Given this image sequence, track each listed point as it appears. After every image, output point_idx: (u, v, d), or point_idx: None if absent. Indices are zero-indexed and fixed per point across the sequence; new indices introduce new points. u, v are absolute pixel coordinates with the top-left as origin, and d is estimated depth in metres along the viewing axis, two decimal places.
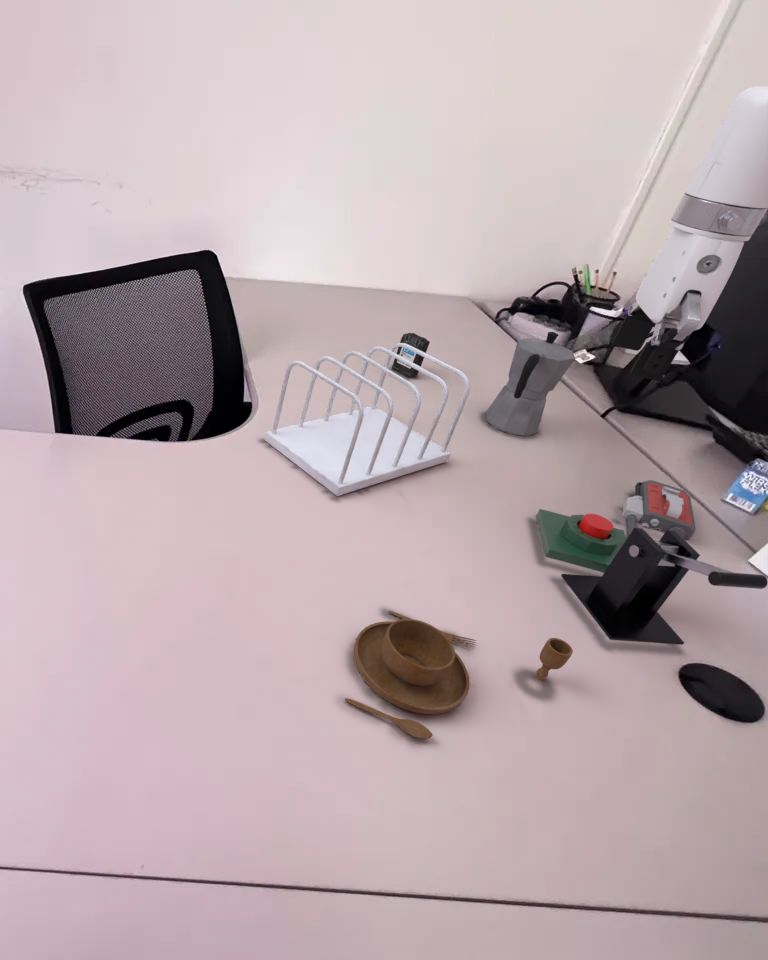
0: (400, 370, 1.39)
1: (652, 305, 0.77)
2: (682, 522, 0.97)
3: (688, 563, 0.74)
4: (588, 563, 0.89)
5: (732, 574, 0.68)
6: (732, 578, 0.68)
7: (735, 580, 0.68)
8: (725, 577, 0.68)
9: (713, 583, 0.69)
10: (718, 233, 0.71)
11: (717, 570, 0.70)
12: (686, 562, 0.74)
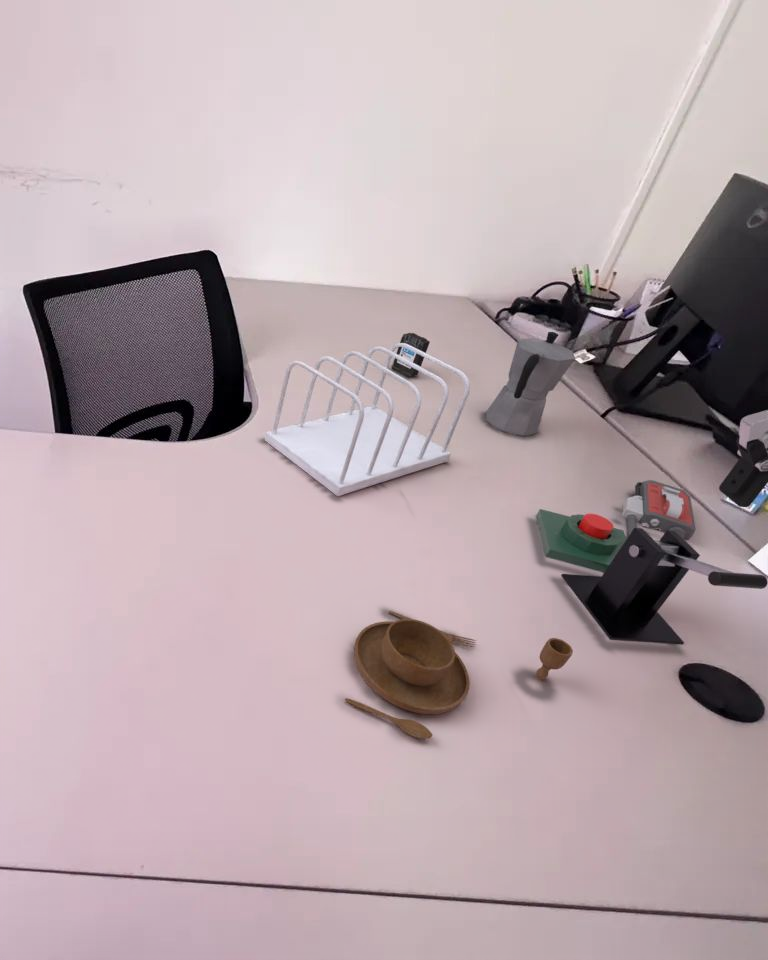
0: (400, 370, 1.39)
1: None
2: (682, 522, 0.97)
3: (688, 563, 0.74)
4: (588, 563, 0.89)
5: (732, 574, 0.68)
6: (732, 578, 0.68)
7: (735, 580, 0.68)
8: (725, 577, 0.68)
9: (713, 583, 0.69)
10: None
11: (717, 570, 0.70)
12: (686, 562, 0.74)
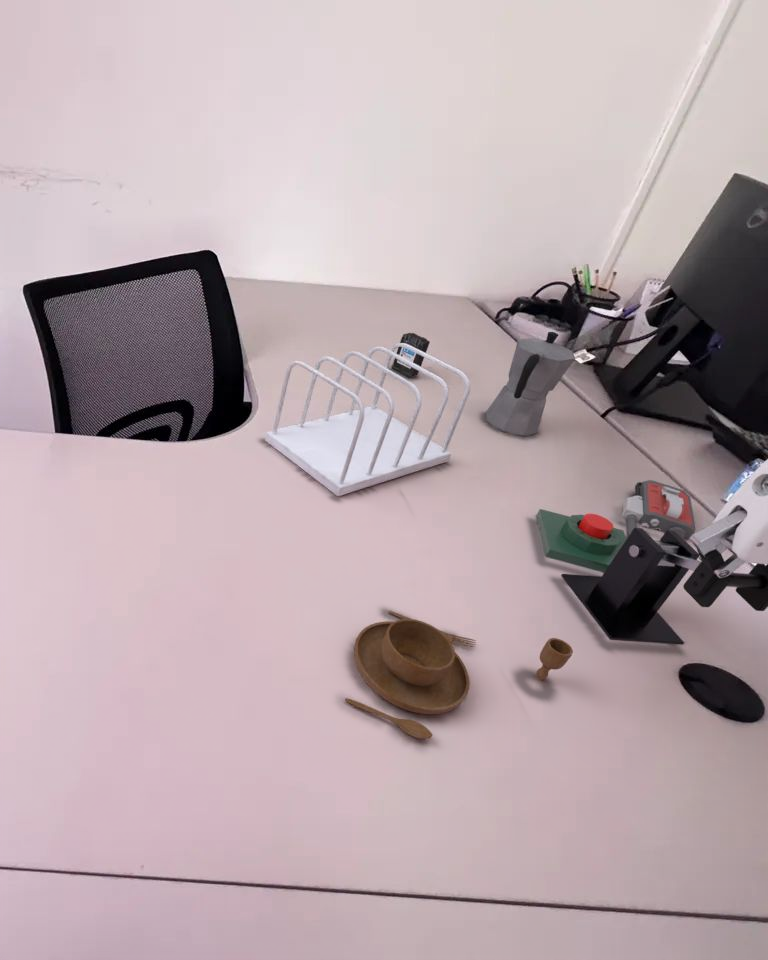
0: (400, 370, 1.39)
1: None
2: (682, 522, 0.97)
3: (688, 563, 0.74)
4: (588, 563, 0.89)
5: (732, 574, 0.68)
6: (732, 578, 0.68)
7: (735, 580, 0.68)
8: None
9: None
10: None
11: None
12: (686, 562, 0.74)
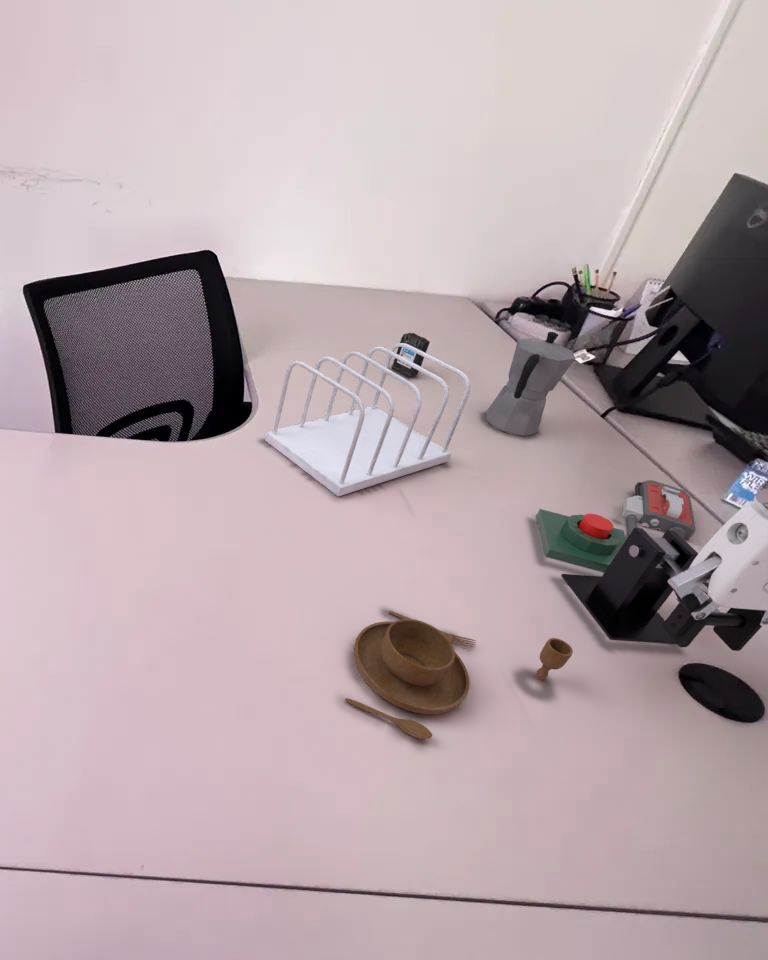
0: (400, 370, 1.39)
1: None
2: (682, 522, 0.97)
3: None
4: (588, 563, 0.89)
5: (713, 616, 0.70)
6: (711, 621, 0.70)
7: (713, 622, 0.70)
8: None
9: None
10: (766, 507, 0.63)
11: None
12: None
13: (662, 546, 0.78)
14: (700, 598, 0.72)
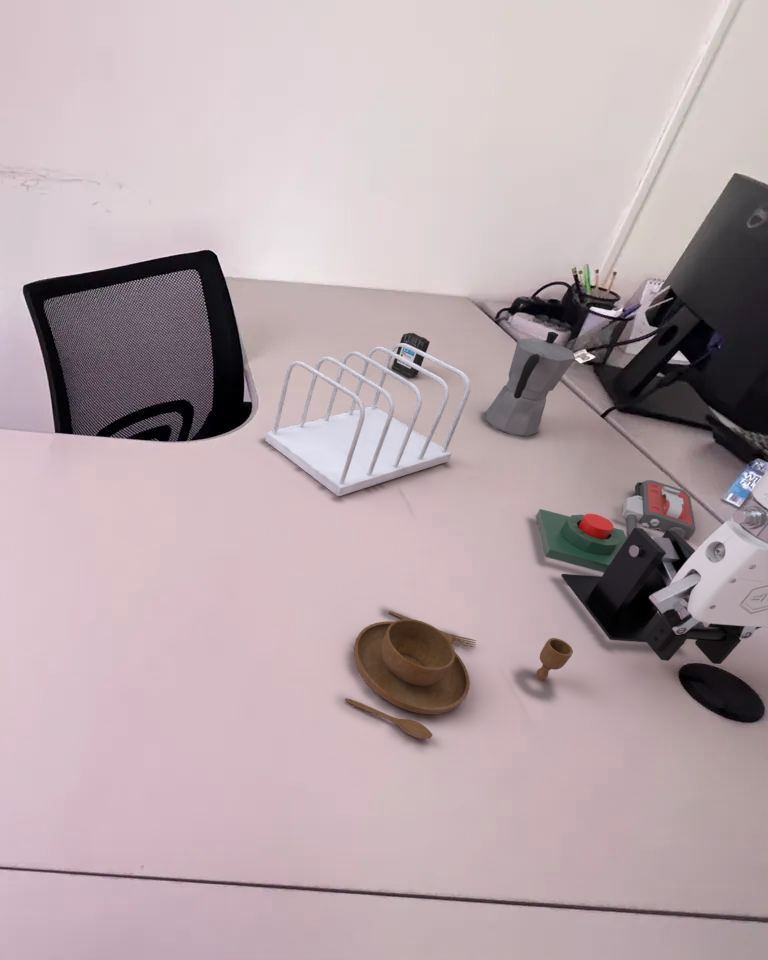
0: (400, 370, 1.39)
1: None
2: (682, 522, 0.97)
3: None
4: (588, 563, 0.89)
5: (695, 632, 0.72)
6: (693, 636, 0.72)
7: (694, 638, 0.72)
8: None
9: None
10: (743, 527, 0.65)
11: None
12: None
13: (663, 549, 0.77)
14: None
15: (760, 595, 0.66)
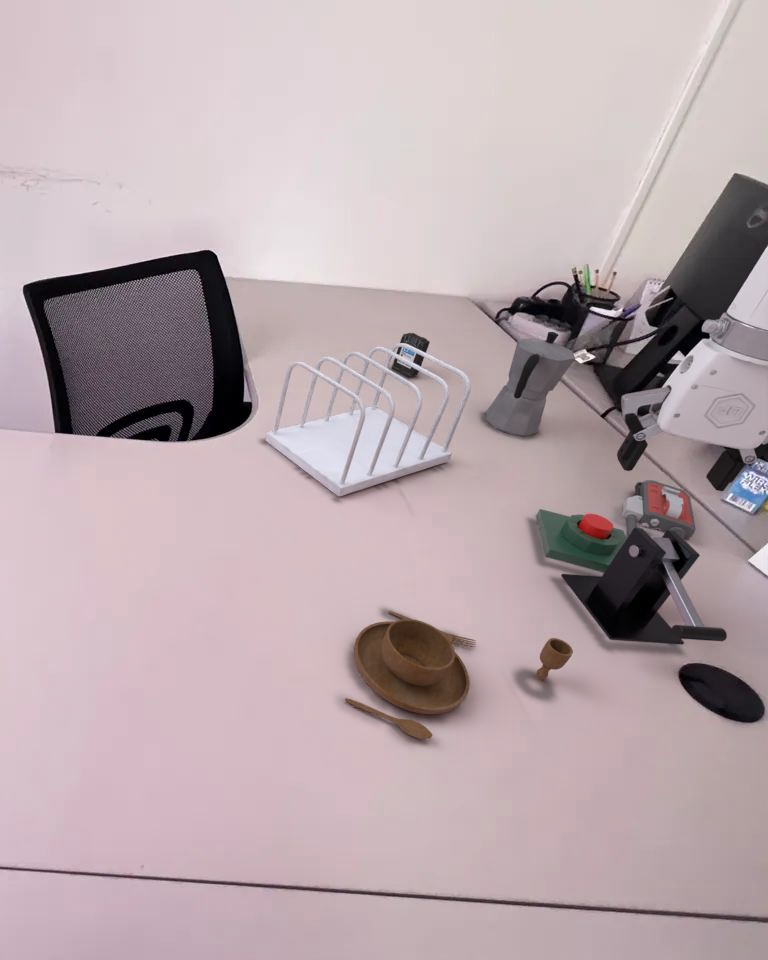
0: (400, 370, 1.39)
1: None
2: (682, 522, 0.97)
3: (672, 589, 0.76)
4: (588, 563, 0.89)
5: (695, 632, 0.72)
6: (692, 636, 0.72)
7: (694, 638, 0.72)
8: (686, 635, 0.72)
9: (673, 633, 0.73)
10: (713, 340, 0.72)
11: (689, 615, 0.73)
12: (671, 586, 0.76)
13: (663, 549, 0.77)
14: (688, 610, 0.74)
15: (725, 407, 0.72)
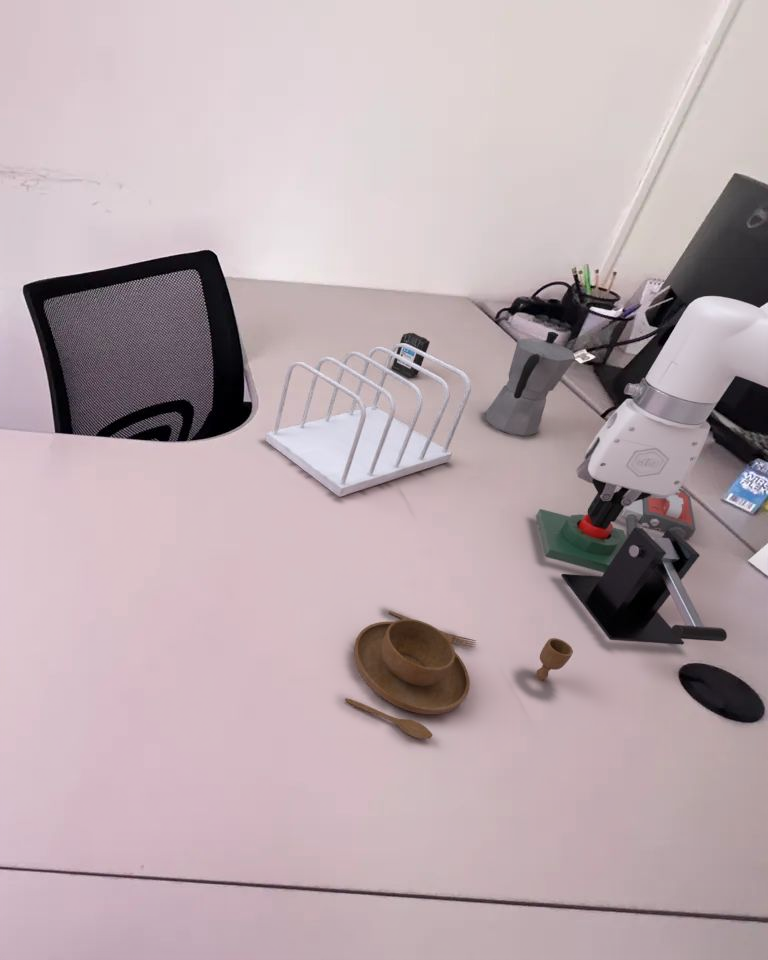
0: (400, 370, 1.39)
1: None
2: (682, 522, 0.97)
3: (672, 589, 0.76)
4: (588, 563, 0.89)
5: (695, 632, 0.72)
6: (692, 636, 0.72)
7: (694, 638, 0.72)
8: (686, 635, 0.72)
9: (673, 633, 0.73)
10: (634, 400, 0.82)
11: (689, 615, 0.73)
12: (671, 586, 0.76)
13: (663, 549, 0.77)
14: (688, 610, 0.74)
15: (644, 459, 0.83)
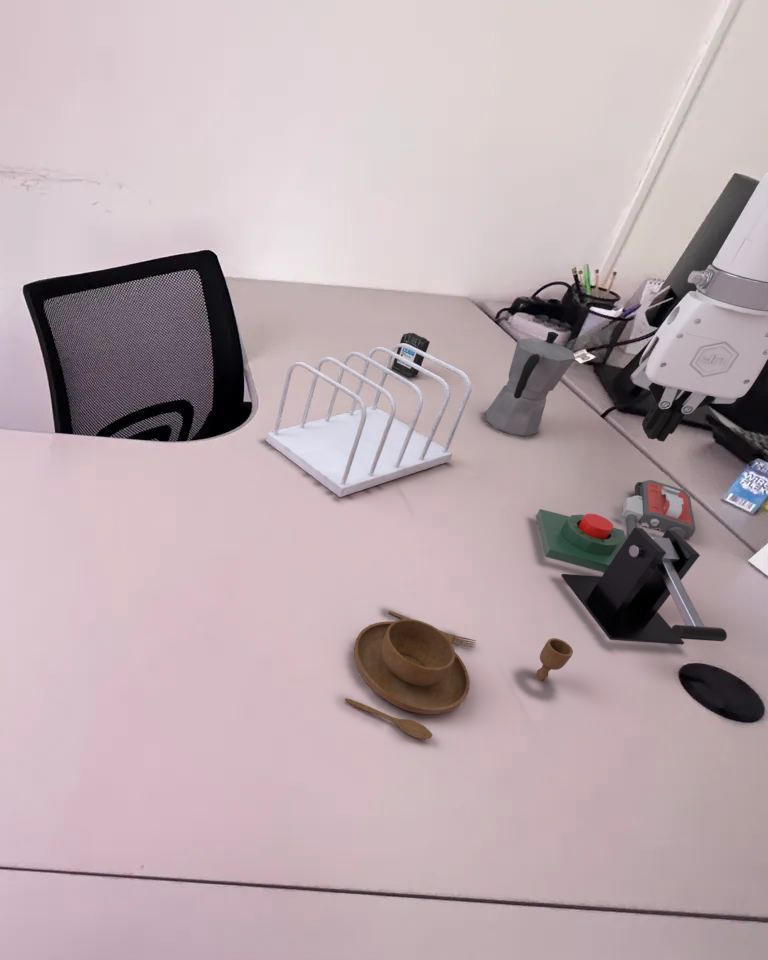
0: (400, 370, 1.39)
1: None
2: (682, 522, 0.97)
3: (672, 589, 0.76)
4: (588, 563, 0.89)
5: (695, 632, 0.72)
6: (692, 636, 0.72)
7: (694, 638, 0.72)
8: (686, 635, 0.72)
9: (673, 633, 0.73)
10: (699, 291, 0.75)
11: (689, 615, 0.73)
12: (671, 586, 0.76)
13: (663, 549, 0.77)
14: (688, 610, 0.74)
15: (710, 356, 0.75)
